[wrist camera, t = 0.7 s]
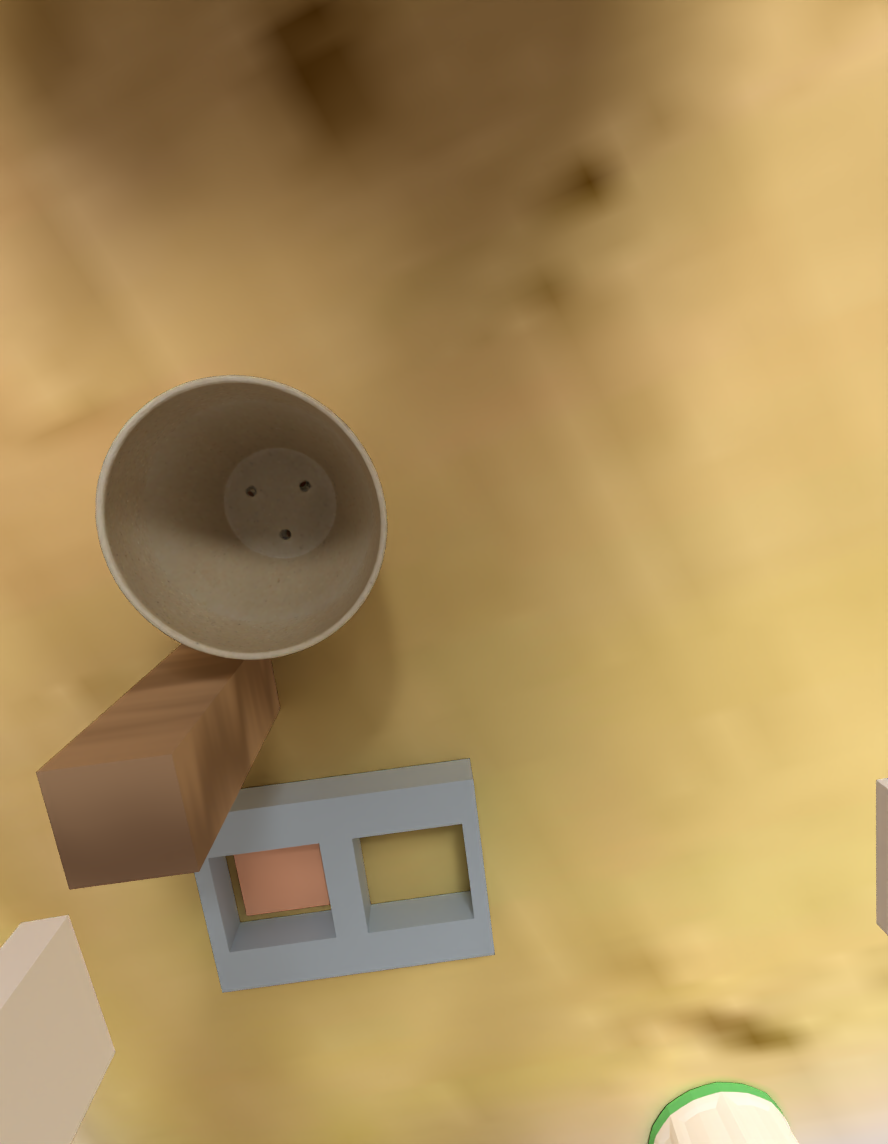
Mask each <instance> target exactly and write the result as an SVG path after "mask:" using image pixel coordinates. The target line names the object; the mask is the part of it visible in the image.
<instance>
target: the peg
mask: <svg viewBox="0 0 888 1144" xmlns="http://www.w3.org/2000/svg"><path fill="white" fill-rule="evenodd" d="M279 711H280V704H279V699H278V694H277V689H276V683H275V678H274V673H273V667H272V662H271V658H269V659H259V660H242V659H232V658H224V657H219V656H215V655H211V654H207V653H204V652H201V651H198V650H195V649H193V648H191V647H188V646H186V645H184V644H181V645H180V646H179V647H178V648H176V649H175V650H174V651H173V652H172V653H171V654H170V655H168V656H167V657H166V658H165V659H164V660H163V661H162V662H160V663H159V664H158V665H157V666H156V667H155V668H154V669H153V670H151V671H150V672H149V673H148V674H147V675H146V676H145V677H143V678H142V679H141V680H140V681H139V682H138V683H137V684H135V685H134V686H133V687H132V688H131V689H130V690H129V691H128V692H126V693H125V694H124V695H123V696H122V697H121V698H120V699H118V700H117V701H116V702H115V703H114V704H113V705H112V706H111V707H109V708H108V709H107V710H106V711H105V712H104V713H103V714H101V715H100V716H99V717H98V718H97V719H96V720H95V721H93V722H92V723H91V724H90V725H89V726H88V727H87V728H86V729H84V730H83V731H82V732H81V733H80V734H79V735H78V736H76V737H75V738H74V739H73V740H72V741H71V742H70V743H69V744H67V745H66V746H65V747H64V748H63V749H62V750H61V751H59V752H58V753H57V754H56V755H55V756H54V757H53V758H51V759H50V760H49V761H48V762H47V763H46V764H45V765H44V766H42V767H41V768H40V769H39V770H38V771H37V772H36V774H37V778H38V781H39V785H40V788H41V792H42V795H43V799H44V802H45V806H46V809H47V813H48V816H49V820H50V823H51V827H52V830H53V834H54V837H55V841H56V844H57V848H58V851H59V855H60V858H61V862H62V865H63V869H64V872H65V876H66V879H67V883H68V886H69V889H77V888H84V887H91V886H99V885H106V884H113V883H121V882H128V881H136V880H143V879H150V878H158V877H165V876H172V875H180V874H187V873H195V872H199V871H200V869H201V867H202V865H203V863H204V861H205V859H206V857H207V855H208V853H209V851H210V849H211V847H212V845H213V843H214V841H215V839H216V837H217V835H218V833H219V831H220V829H221V827H222V825H223V823H224V821H225V819H226V817H227V815H228V813H229V811H230V809H231V807H232V805H233V803H234V801H235V799H236V797H237V795H238V793H239V791H240V789H241V787H242V785H243V783H244V781H245V779H246V777H247V775H248V773H249V771H250V769H251V767H252V765H253V763H254V761H255V759H256V757H257V755H258V753H259V751H260V749H261V747H262V745H263V743H264V741H265V739H266V737H267V735H268V733H269V731H270V729H271V727H272V725H273V723H274V721H275V719H276V717H277V715H278V713H279Z"/></svg>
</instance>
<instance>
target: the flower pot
mask: <svg viewBox="0 0 888 1144" xmlns="http://www.w3.org/2000/svg"><path fill="white" fill-rule="evenodd" d="M304 481H306V484H305V485H304V486H302V487H301V486H300V485H301V483H302V482H304ZM248 492H252V493H253V495H254V496H250V495H248V494H247V493H248ZM96 526H97V531H98V537H99V542H100V546H101V549H102V552H103V555H104V558H105V560H106V563H107V566H108V568H109V570H110V572H111V574H112V576H113V578H114V580H115V582H116V583H117V585H118V586H119V588H120V590H121V591H122V592H123V594H124V595H125V597H126V598H127V599H128V600H129V602H130V603H131V604H132V605H133V606H134V607H135V609H136V610H137V611H138V612H139V613H140V614H141V615H142V616H143V617H144V618H145V619H146V620H147V621H149V622H150V623H151V624H152V625H153V626H155V627H156V628H158V629H159V630H160V631H162V632H163V633H165V634H166V635H168V636H169V637H171V638H173V639H174V640H176V641H178V642H180V643H182V644H184V645H186V646H188V647H191V648H193V649H195V650H198V651H201V652H204V653H207V654H211V655H215V656H219V657H224V658H232V659H242V660H259V659H269V658H276V657H281V656H285V655H289V654H293V653H296V652H299V651H301V650H304V649H306V648H309V647H311V646H313V645H315V644H317V643H319V642H321V641H322V640H324V639H326V638H327V637H329V636H330V635H332V634H333V633H335V632H336V631H337V630H338V629H339V628H341V627H342V626H343V625H344V624H345V623H347V622H348V621H349V620H350V619H351V618H352V616H353V615H354V614H355V613H356V612H357V611H358V609H359V608H360V607H361V605H362V604H363V603H364V601H365V600H366V598H367V596H368V595H369V593H370V591H371V589H372V587H373V586H374V584H375V581H376V579H377V577H378V574H379V571H380V568H381V565H382V562H383V557H384V553H385V548H386V539H387V512H386V505H385V499H384V494H383V490H382V486H381V483H380V480H379V477H378V474H377V472H376V469H375V467H374V465H373V463H372V461H371V459H370V457H369V455H368V453H367V452H366V450H365V448H364V447H363V445H362V444H361V442H360V441H359V440H358V438H357V437H356V436H355V434H354V433H353V432H352V430H351V429H350V428H349V427H348V426H347V425H346V424H345V423H344V422H343V421H342V420H341V419H340V418H339V417H338V416H337V415H336V414H334V413H333V412H332V411H331V410H330V409H328V408H327V407H326V406H324V405H323V404H321V403H320V402H319V401H317V400H316V399H314V398H312V397H311V396H309V395H307V394H305V393H304V392H301V391H299V390H297V389H295V388H293V387H290V386H288V385H285V384H282V383H279V382H276V381H273V380H269V379H265V378H259V377H252V376H244V375H225V376H214V377H208V378H202V379H198V380H194V381H190V382H187V383H184V384H181V385H179V386H176V387H174V388H172V389H170V390H168V391H166V392H164V393H162V394H160V395H159V396H157V397H155V398H154V399H152V400H151V401H150V402H148V403H147V404H146V405H144V406H143V407H142V408H141V409H140V410H139V411H138V412H137V413H136V414H135V415H134V416H132V417H131V418H130V419H129V420H128V422H127V423H126V424H125V425H124V427H123V428H122V429H121V431H120V432H119V434H118V435H117V437H116V438H115V440H114V441H113V443H112V445H111V447H110V449H109V451H108V453H107V455H106V458H105V460H104V462H103V466H102V469H101V472H100V476H99V479H98V485H97V492H96ZM287 530H288V531H289V532H290V534H291V536H290V537H288V536H287V533H286V532H287Z"/></svg>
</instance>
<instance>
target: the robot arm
mask: <svg viewBox="0 0 888 1144" xmlns="http://www.w3.org/2000/svg"><path fill="white" fill-rule="evenodd" d="M876 916H877V924H878V925H879V927H880V928H881V929H882V930H883V931H884V932H885V933H886V934H887V935H888V778H885V779H879V780H876ZM114 1054H115V1049H114V1046H113V1043H112V1040H111V1037H110V1034H109V1031H108V1028H107V1025H106V1023H105V1020H104V1017H103V1014H102V1011H101V1008H100V1005H99V1002H98V999H97V996H96V993H95V990H94V987H93V985H92V982H91V979H90V976H89V973H88V970H87V967H86V964H85V961H84V958H83V955H82V952H81V949H80V947H79V944H78V941H77V938H76V935H75V932H74V929H73V926H72V923H71V920H70V917H69V915H64V916H58V917H52V918H46V919H40V920H34V921H28V922H22V923H20V925H19V926H18V927H17V928H16V930H15V931H14V932H13V933H12V935H11V936H10V937H9V938H8V940H7V941H6V942H5V943H4V945H3V946H2V947H1V948H0V1144H71V1143H72V1141H73V1139H74V1137H75V1135H76V1133H77V1131H78V1128H79V1126H80V1124H81V1122H82V1120H83V1118H84V1116H85V1114H86V1112H87V1110H88V1108H89V1106H90V1104H91V1102H92V1100H93V1097H94V1095H95V1093H96V1091H97V1089H98V1087H99V1085H100V1083H101V1081H102V1079H103V1077H104V1075H105V1073H106V1071H107V1068H108V1066H109V1064H110V1062H111V1060H112V1058H113V1056H114Z"/></svg>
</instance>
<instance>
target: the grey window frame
mask: <svg viewBox="0 0 888 1144" xmlns="http://www.w3.org/2000/svg"><path fill="white" fill-rule="evenodd" d="M457 824H462V826H463V834H464V842H465V850H466V857H467V865H468V873H469V881H470V888H471V891H465V892H458V893H451V894H444V895H436V896H429V897H422V898H414V899H407V900H400V901H393V902H385V903H378V904H371V902H370V896H369V891H368V885H367V879H366V873H365V867H364V861H363V855H362V849H361V843H360V838H361V837H369V836H376V835H384V834H391V833H398V832H406V831H413V830H420V829H428V828H435V827H443V826H450V825H457ZM229 855H234V859H235V864H236V869H237V873H238V878H239V882H240V887H241V892H242V896H243V901H244V905H245V910H246V914H247V916H250V915H257V914H265V913H272V912H279V911H286V910H294V909H301V908H308V907H316V906H323V905H331V910H327V911H320V912H313V913H305V914H298V915H291V916H284V917H276V918H269V919H262V920H255V921H247V922H240V919H239V915H238V910H237V906H236V901H235V897H234V892H233V888H232V883H231V879H230V874H229V870H228V865H227V861H226V856H229ZM194 874H195V878H196V882H197V887H198V891H199V895H200V899H201V904H202V908H203V912H204V916H205V921H206V925H207V929H208V933H209V938H210V942H211V946H212V950H213V955H214V959H215V963H216V968H217V972H218V976H219V980H220V985H221V989H222V993H223V992H231V991H238V990H245V989H252V988H259V987H266V986H274V985H281V984H288V983H295V982H302V981H309V980H317V979H324V978H331V977H338V976H345V975H352V974H360V973H367V972H374V971H381V970H388V969H395V968H403V967H410V966H417V965H424V964H431V963H438V962H445V961H453V960H460V959H467V958H474V957H481V956H488V955H495V952H494V944H493V936H492V928H491V920H490V912H489V903H488V895H487V887H486V879H485V871H484V863H483V855H482V846H481V838H480V830H479V822H478V814H477V806H476V798H475V789H474V781H473V775H472V769H471V763H470V758H469V759H462V760H454V761H447V762H439V763H432V764H424V765H417V766H409V767H402V768H394V769H387V770H379V771H372V772H364V773H357V774H349V775H342V776H334V777H327V778H320V779H312V780H305V781H297V782H290V783H282V784H275V785H267V786H260V787H252V788H245V789H240V791H239V793H238V795H237V797H236V799H235V801H234V803H233V805H232V807H231V809H230V811H229V813H228V815H227V817H226V819H225V821H224V823H223V825H222V827H221V829H220V831H219V833H218V835H217V837H216V839H215V841H214V843H213V845H212V847H211V849H210V851H209V853H208V855H207V857H206V859H205V861H204V863H203V865H202V867H201V869H200V871H199V872H195V873H194Z"/></svg>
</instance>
